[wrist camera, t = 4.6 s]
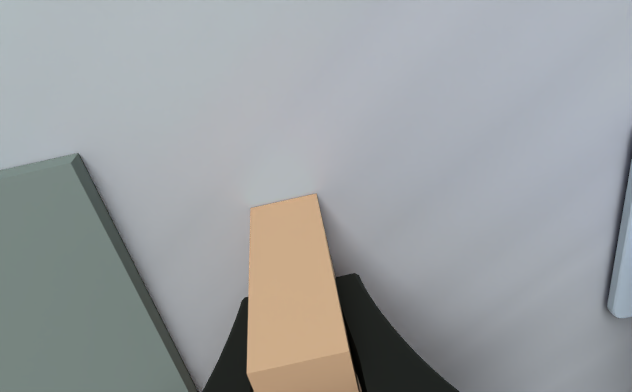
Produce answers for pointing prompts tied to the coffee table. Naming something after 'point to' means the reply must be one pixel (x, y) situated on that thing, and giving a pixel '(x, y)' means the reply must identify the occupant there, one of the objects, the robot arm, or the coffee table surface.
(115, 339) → the slate mat
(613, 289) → the robot arm
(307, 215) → the tall tan wooden post
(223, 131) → the coffee table surface
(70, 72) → the coffee table surface
